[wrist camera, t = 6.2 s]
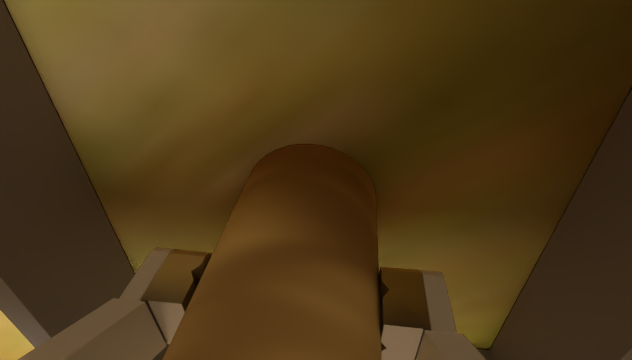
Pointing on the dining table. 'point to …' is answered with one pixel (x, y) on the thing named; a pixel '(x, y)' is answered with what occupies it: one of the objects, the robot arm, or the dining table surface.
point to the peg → (291, 267)
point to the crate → (116, 273)
